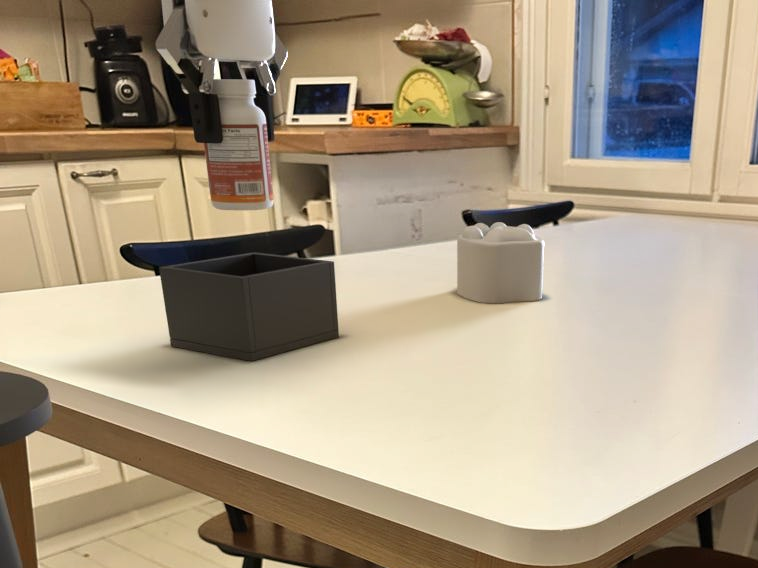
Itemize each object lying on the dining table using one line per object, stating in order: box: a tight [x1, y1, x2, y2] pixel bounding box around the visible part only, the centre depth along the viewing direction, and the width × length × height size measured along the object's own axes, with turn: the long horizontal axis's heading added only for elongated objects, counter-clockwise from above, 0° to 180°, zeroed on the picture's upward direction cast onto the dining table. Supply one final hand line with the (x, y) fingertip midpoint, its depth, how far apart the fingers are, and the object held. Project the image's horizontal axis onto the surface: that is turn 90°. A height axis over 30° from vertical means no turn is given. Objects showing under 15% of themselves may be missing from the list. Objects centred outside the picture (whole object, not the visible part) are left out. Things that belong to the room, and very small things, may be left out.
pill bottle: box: [203, 78, 275, 211], centre depth 89 cm, size 6×6×11 cm
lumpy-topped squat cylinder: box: [456, 221, 545, 304], centre depth 123 cm, size 10×13×9 cm
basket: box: [158, 252, 340, 362], centre depth 97 cm, size 14×12×8 cm
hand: (235, 140), depth 89 cm, fingers closed on pill bottle, 6 cm apart
